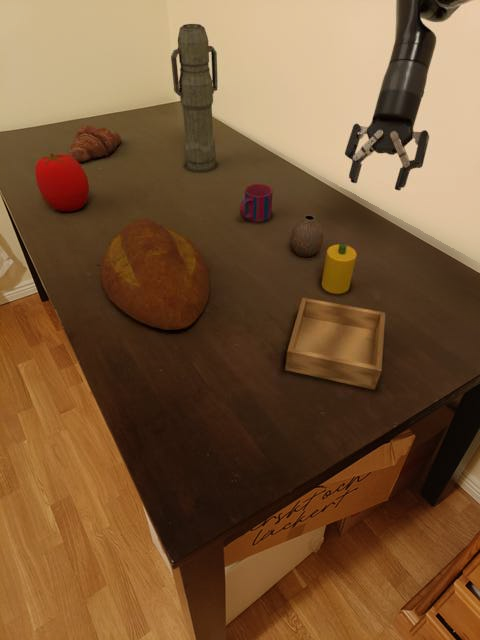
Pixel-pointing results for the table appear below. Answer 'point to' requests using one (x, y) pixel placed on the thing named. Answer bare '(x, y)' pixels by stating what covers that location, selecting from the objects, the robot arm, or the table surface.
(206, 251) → the table surface
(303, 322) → the tray
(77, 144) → the pastry
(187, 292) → the bread
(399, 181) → the robot arm
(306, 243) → the vase
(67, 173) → the red rounded lump
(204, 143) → the grey stone totem
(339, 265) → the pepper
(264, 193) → the mug
